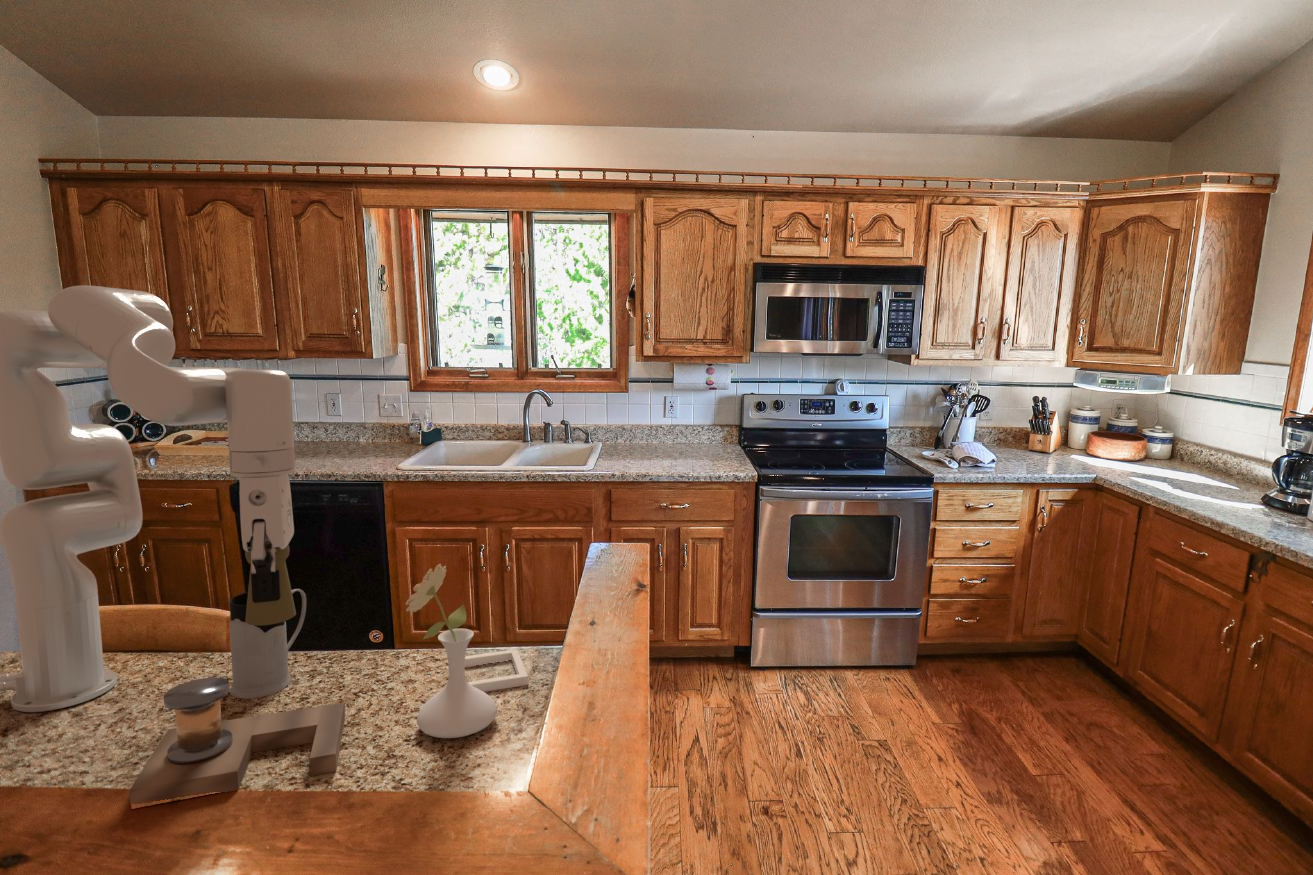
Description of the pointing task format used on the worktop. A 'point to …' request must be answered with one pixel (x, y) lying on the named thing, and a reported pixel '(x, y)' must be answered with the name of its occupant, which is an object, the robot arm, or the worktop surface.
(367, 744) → the worktop surface
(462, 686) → the flower in vase
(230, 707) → the worktop surface
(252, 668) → the glass holder
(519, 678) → the rectangular frame
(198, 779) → the notched board
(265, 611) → the cork
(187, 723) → the bobbin
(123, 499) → the robot arm
